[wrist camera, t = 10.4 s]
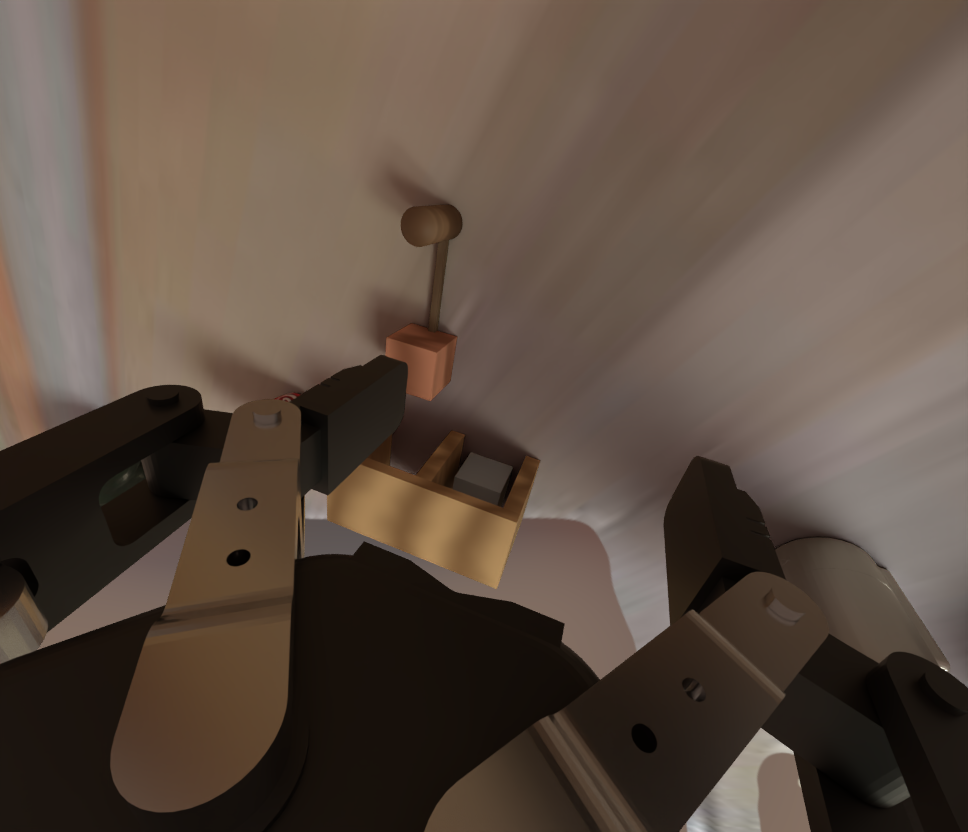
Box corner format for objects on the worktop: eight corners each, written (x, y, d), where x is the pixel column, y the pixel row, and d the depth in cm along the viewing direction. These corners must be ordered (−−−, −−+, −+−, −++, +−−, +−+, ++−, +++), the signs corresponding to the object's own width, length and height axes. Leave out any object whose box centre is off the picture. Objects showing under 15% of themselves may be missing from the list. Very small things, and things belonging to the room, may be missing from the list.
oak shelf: (540, 460, 46) (516, 522, 37) (521, 521, 50) (496, 589, 42) (381, 406, 49) (326, 452, 41) (377, 467, 54) (327, 520, 45)
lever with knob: (476, 211, 36) (450, 214, 31) (450, 381, 45) (425, 405, 40) (423, 198, 37) (389, 199, 32) (407, 367, 46) (378, 389, 41)
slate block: (513, 466, 47) (500, 493, 43) (504, 500, 50) (491, 528, 46) (471, 451, 48) (454, 476, 44) (464, 485, 51) (448, 512, 47)
